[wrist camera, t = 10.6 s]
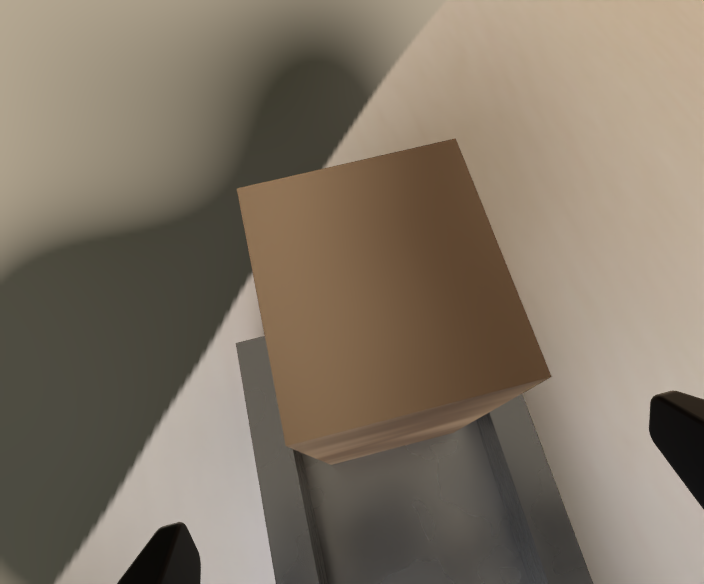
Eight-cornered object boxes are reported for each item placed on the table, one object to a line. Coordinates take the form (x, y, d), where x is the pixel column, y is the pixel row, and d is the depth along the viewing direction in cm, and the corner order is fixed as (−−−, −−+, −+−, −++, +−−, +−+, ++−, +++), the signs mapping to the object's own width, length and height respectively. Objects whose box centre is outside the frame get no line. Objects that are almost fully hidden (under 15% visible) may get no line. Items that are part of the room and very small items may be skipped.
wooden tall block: (331, 464, 17) (285, 446, 8) (302, 332, 19) (236, 188, 10) (453, 432, 17) (551, 377, 8) (413, 304, 19) (455, 138, 10)
